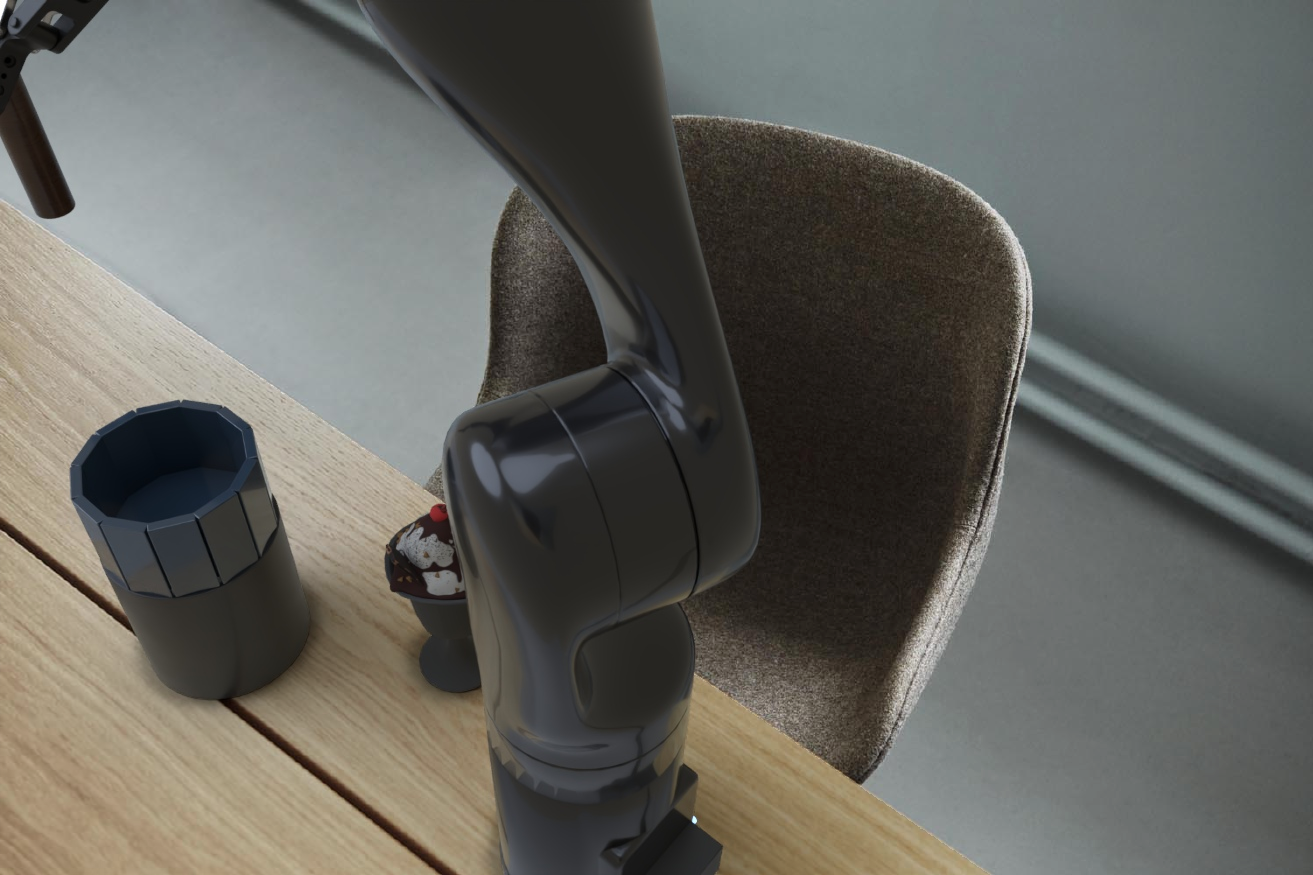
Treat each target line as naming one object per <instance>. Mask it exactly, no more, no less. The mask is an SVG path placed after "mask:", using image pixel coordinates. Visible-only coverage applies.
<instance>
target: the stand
mask: <svg viewBox="0 0 1313 875" xmlns="http://www.w3.org/2000/svg"><path fill="white" fill-rule="evenodd" d="M272 495H273V501H274V506H275V511H276V516H277V521H278V522H277V527H276V529H275V531H274V533H273V535H272V537H271V539H270V541H269V543H268V545H267V547H266V549H265V551H264V553H263V554H262V556H261V557H258V561H256V562H255V563H253V564H252V565H251V566H249V567H248V568H246V569H245V570H244V571H242V572H241V573H239V574H238V575H237V576H235V577H234V578H233V579H231V580H230V581H228V582H227V583H226V584H220V587H216V588H212V589H208V590H204V591H200V592H196V593H192V594H188V595H184V596H180V597H175V596H173V598H170V597H164V596H157V595H151V594H145V593H139V592H133V591H131V589H130V590H128V589H127V588H126V587H125V586H124V585H123V584H122V583H121V582H119V581H118V580H117V579H116V578H115V577H114V576H113V575H112V574H111V573H110V572H109V571H107V570H106V569H105V568H104V566H103V564H102V562H101V560H100V559H99V562H100V564H101V567H102V570H103V572H104V573H105V575H106V577H107V579H108V581H109V584H110V586H111V587H112V589H113V592H114V594H115V596H116V597H117V600H118V601H119V604H120V606H121V608H122V610H123V612H124V614H125V616H126V619H127V620H128V622H129V624H130V626H131V628H132V630H133V632H134V635H135V636H136V638H137V640H138V642H139V644H140V646H141V649H142V651H143V652H144V655H145V656H146V658H147V659H146V660H147V661H148V662H149V665H150V667H151V669H152V670H153V672H154V673H155V675H156V677H157V678H158V679H159V681H161V683H162V684H164V685H165V686H166V687H168V688H169V689H170V690H172V691H174V692H176V693H178V694H181V695H183V696H186V697H188V698H193V699H196V700H197V699H198V700H207V701H209V700H213V701H214V700H225V699H231V698H236V697H240V696H243V695H246V694H249V693H251V692H254V691H256V690H259V689H261V688H263V687H264V686H267V685H268V684H270V683H271V682H273V681H275V680H276V679H277V678H278V677H280V676H281V675H282V674H283V673H284V672H285V671H287V669H289V667H290V666H292V664H293V663H294V662H295V661H296V660H297V658H298V657H299V655H300V654H301V652H302V651H303V648H304V647H305V644H306V642H307V639H308V637H309V633H310V628H311V613H310V609H309V606H308V602H307V598H306V595H305V592H304V591H305V590H304V588H303V585H302V582H301V579H300V578H301V577H300V574H299V572H298V568H297V564H296V561H295V557H294V554H293V551H292V548H291V545H290V541H289V538H288V534H287V531H286V527H285V525H284V521H283V517H282V514H281V510H280V507H279V504H278V501H277V499H276V497H275V495H274V493H273V492H272Z"/></svg>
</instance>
